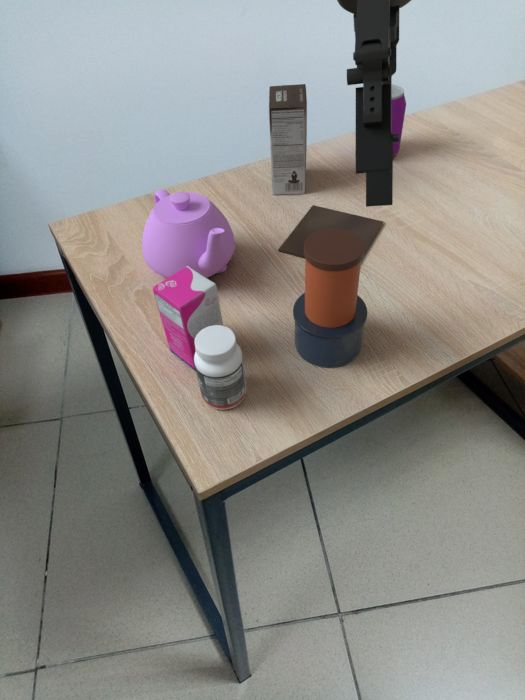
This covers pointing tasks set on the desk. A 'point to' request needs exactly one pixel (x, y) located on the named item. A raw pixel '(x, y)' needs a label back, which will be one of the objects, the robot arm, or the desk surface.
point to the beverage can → (397, 114)
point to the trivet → (329, 219)
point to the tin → (328, 337)
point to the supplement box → (187, 310)
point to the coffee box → (288, 138)
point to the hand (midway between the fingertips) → (376, 191)
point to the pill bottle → (219, 367)
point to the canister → (332, 276)
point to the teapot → (186, 235)
